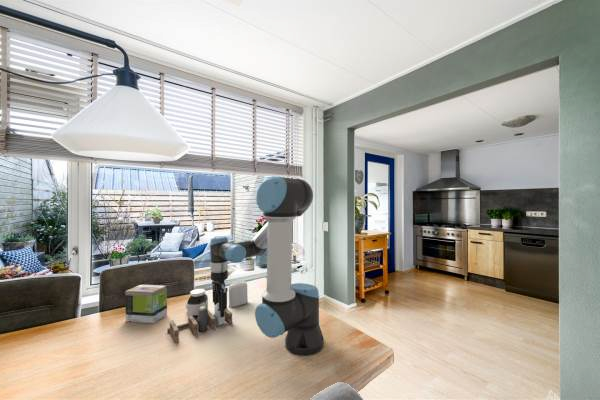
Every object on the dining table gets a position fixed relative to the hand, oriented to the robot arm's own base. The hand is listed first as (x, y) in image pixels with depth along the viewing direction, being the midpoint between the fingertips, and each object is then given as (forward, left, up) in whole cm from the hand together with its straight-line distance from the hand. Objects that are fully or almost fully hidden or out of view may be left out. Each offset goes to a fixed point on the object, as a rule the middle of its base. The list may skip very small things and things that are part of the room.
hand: (219, 321), depth 114 cm
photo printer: (+15, -16, -2) cm, 22 cm away
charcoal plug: (0, +7, -2) cm, 8 cm away
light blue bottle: (0, 0, -2) cm, 2 cm away
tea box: (+29, +25, -2) cm, 38 cm away
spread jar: (+19, +5, -2) cm, 20 cm away
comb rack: (+3, +7, -2) cm, 8 cm away
